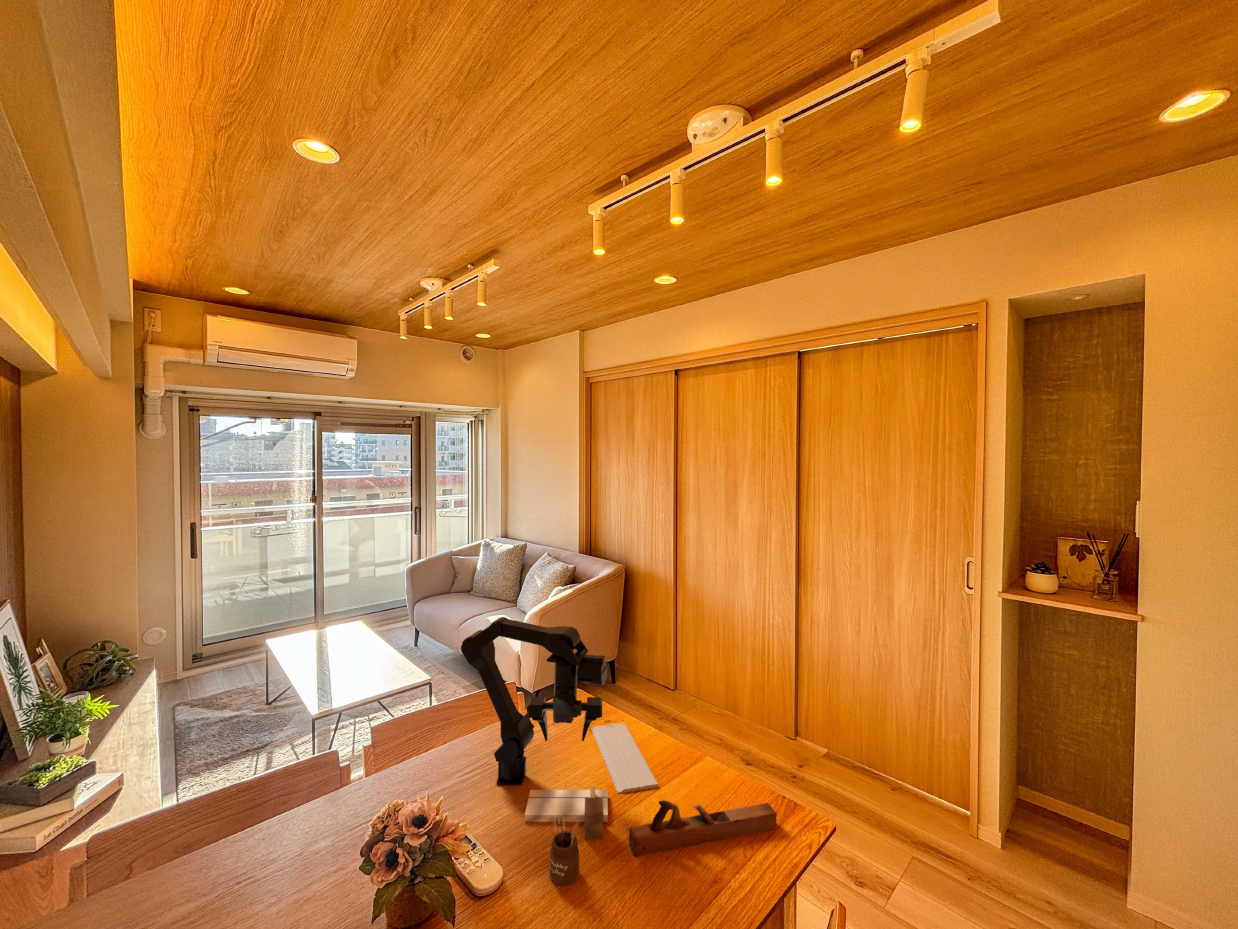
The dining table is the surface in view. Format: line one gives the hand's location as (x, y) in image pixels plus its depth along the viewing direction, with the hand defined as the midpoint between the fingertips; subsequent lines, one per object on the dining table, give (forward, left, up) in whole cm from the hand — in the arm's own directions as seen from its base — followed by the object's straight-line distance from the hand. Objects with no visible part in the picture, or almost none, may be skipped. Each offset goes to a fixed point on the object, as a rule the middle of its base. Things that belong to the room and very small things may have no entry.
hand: (564, 740), depth 132 cm
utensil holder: (+2, -27, -12) cm, 30 cm away
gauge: (+8, -11, -12) cm, 18 cm away
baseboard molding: (+14, +14, -13) cm, 24 cm away
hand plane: (+32, -17, -13) cm, 39 cm away
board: (+1, -8, -12) cm, 14 cm away
